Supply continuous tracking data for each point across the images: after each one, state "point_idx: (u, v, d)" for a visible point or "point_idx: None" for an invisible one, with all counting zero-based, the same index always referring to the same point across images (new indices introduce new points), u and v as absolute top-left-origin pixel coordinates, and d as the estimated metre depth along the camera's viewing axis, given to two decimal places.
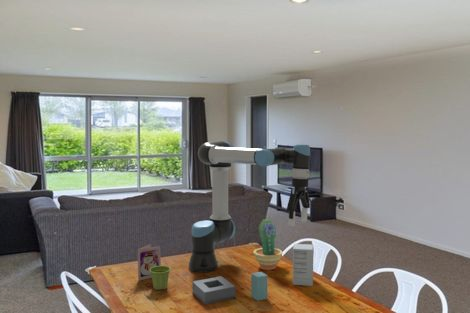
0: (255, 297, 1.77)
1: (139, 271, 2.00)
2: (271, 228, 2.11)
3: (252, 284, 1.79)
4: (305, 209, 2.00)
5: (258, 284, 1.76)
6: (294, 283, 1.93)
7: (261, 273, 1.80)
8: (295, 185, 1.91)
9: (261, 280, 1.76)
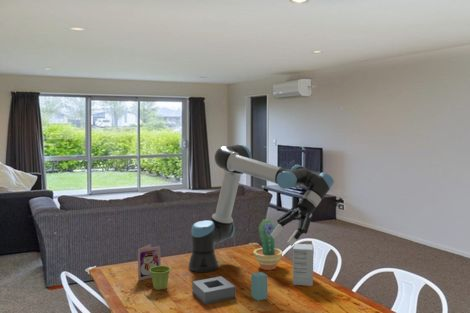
0: (255, 297, 1.77)
1: (139, 271, 2.00)
2: (271, 228, 2.11)
3: (252, 284, 1.79)
4: (281, 227, 1.90)
5: (258, 284, 1.76)
6: (294, 283, 1.93)
7: (261, 273, 1.80)
8: (308, 209, 1.84)
9: (261, 280, 1.76)
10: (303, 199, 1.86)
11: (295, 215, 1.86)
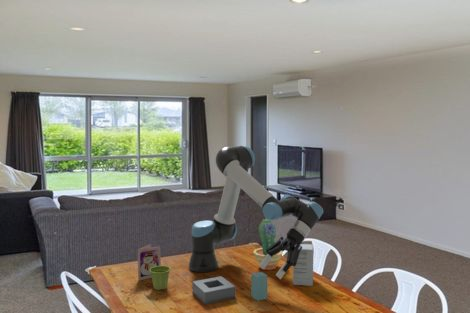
0: (255, 297, 1.77)
1: (139, 271, 2.00)
2: (271, 228, 2.11)
3: (252, 284, 1.79)
4: (270, 257, 1.87)
5: (258, 284, 1.76)
6: (294, 283, 1.93)
7: (261, 273, 1.80)
8: (298, 240, 1.81)
9: (261, 280, 1.76)
10: (292, 229, 1.83)
11: (284, 246, 1.83)
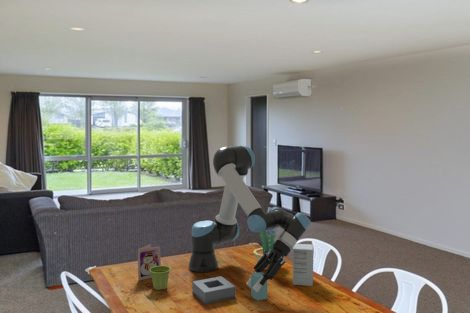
0: (255, 297, 1.77)
1: (139, 271, 2.00)
2: None
3: (252, 284, 1.79)
4: None
5: None
6: (294, 283, 1.93)
7: (261, 273, 1.80)
8: (283, 251, 1.79)
9: None
10: (278, 241, 1.81)
11: (270, 257, 1.81)
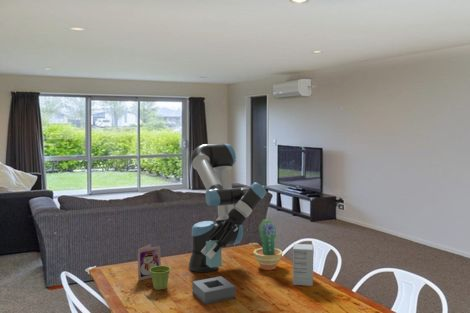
0: (209, 264, 1.79)
1: (139, 271, 2.00)
2: (271, 228, 2.11)
3: (206, 252, 1.81)
4: None
5: None
6: (294, 283, 1.93)
7: (216, 241, 1.81)
8: (238, 219, 1.81)
9: None
10: (233, 210, 1.83)
11: (225, 226, 1.83)
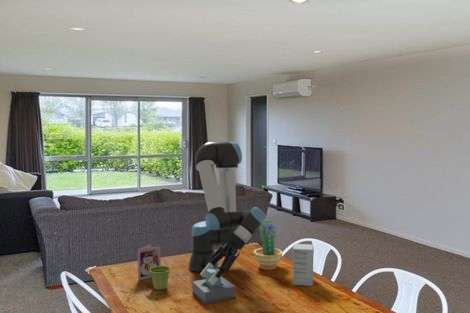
0: None
1: (139, 271, 2.00)
2: (271, 228, 2.11)
3: (206, 280, 1.82)
4: (212, 266, 1.85)
5: None
6: (294, 283, 1.93)
7: (216, 269, 1.82)
8: (237, 245, 1.82)
9: None
10: (233, 234, 1.84)
11: (225, 251, 1.84)
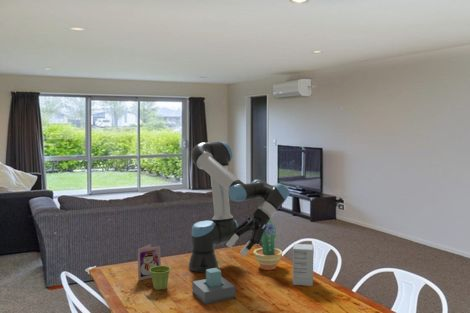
0: None
1: (139, 271, 2.00)
2: (271, 228, 2.11)
3: (206, 280, 1.82)
4: (237, 237, 1.93)
5: (211, 280, 1.78)
6: (294, 283, 1.93)
7: (216, 269, 1.82)
8: (263, 219, 1.86)
9: (215, 275, 1.79)
10: (258, 210, 1.89)
11: (250, 225, 1.89)
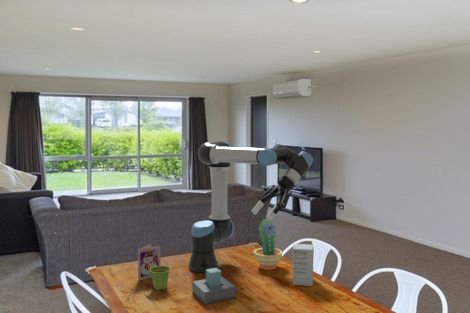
0: None
1: (139, 271, 2.00)
2: (271, 228, 2.11)
3: (206, 280, 1.82)
4: (262, 204, 1.96)
5: (211, 280, 1.78)
6: (294, 283, 1.93)
7: (216, 269, 1.82)
8: (288, 185, 1.90)
9: (215, 275, 1.79)
10: (283, 176, 1.92)
11: (275, 192, 1.92)
